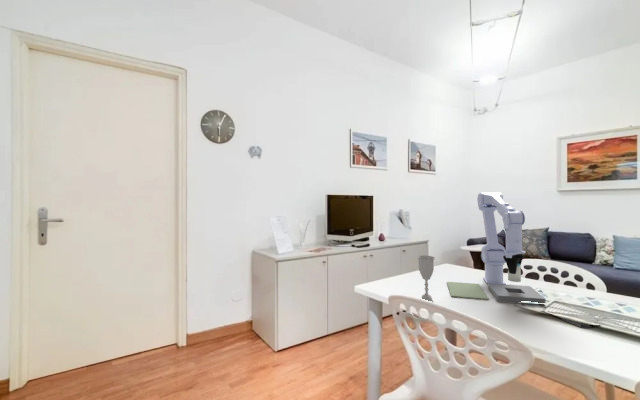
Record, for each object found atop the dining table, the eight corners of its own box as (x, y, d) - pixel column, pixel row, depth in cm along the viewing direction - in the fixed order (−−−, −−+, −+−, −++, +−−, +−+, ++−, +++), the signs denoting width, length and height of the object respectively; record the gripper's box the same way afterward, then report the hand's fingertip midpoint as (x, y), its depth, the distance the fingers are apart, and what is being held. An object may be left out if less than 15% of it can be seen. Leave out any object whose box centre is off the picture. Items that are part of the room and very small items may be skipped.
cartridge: (506, 280, 121) (506, 263, 121) (510, 278, 124) (509, 262, 123) (518, 282, 117) (518, 265, 117) (522, 280, 120) (522, 263, 120)
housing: (488, 288, 131) (488, 283, 131) (530, 291, 126) (530, 286, 126) (497, 301, 116) (497, 295, 116) (545, 305, 110) (545, 299, 110)
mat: (446, 282, 141) (446, 281, 141) (478, 285, 136) (478, 283, 136) (451, 297, 122) (451, 295, 122) (488, 300, 118) (488, 298, 118)
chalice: (437, 304, 114) (436, 259, 114) (419, 303, 116) (418, 259, 115) (433, 297, 122) (432, 255, 121) (417, 297, 123) (416, 255, 123)
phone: (556, 305, 108) (601, 323, 93) (556, 308, 108) (601, 326, 93) (538, 307, 107) (582, 325, 92) (538, 310, 107) (582, 329, 92)
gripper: (519, 243, 112) (520, 277, 113) (530, 238, 122) (530, 270, 122) (499, 241, 118) (500, 274, 118) (510, 237, 127) (511, 267, 128)
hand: (514, 272), depth 120 cm, fingers closed on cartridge, 4 cm apart
